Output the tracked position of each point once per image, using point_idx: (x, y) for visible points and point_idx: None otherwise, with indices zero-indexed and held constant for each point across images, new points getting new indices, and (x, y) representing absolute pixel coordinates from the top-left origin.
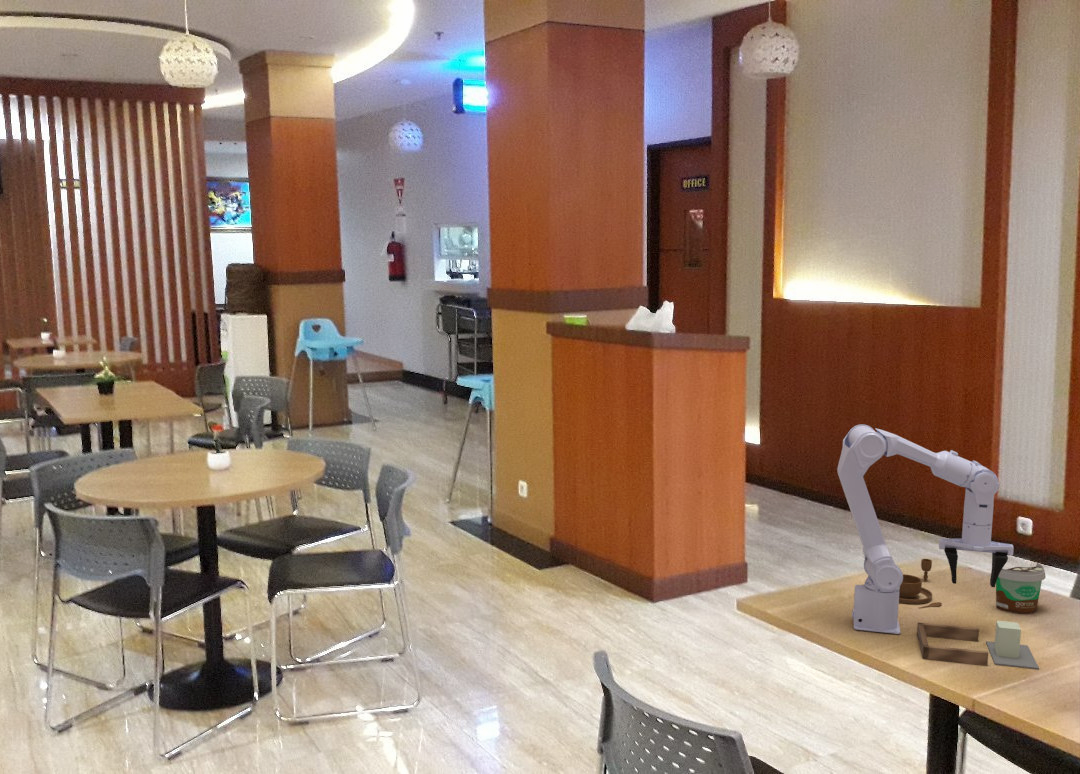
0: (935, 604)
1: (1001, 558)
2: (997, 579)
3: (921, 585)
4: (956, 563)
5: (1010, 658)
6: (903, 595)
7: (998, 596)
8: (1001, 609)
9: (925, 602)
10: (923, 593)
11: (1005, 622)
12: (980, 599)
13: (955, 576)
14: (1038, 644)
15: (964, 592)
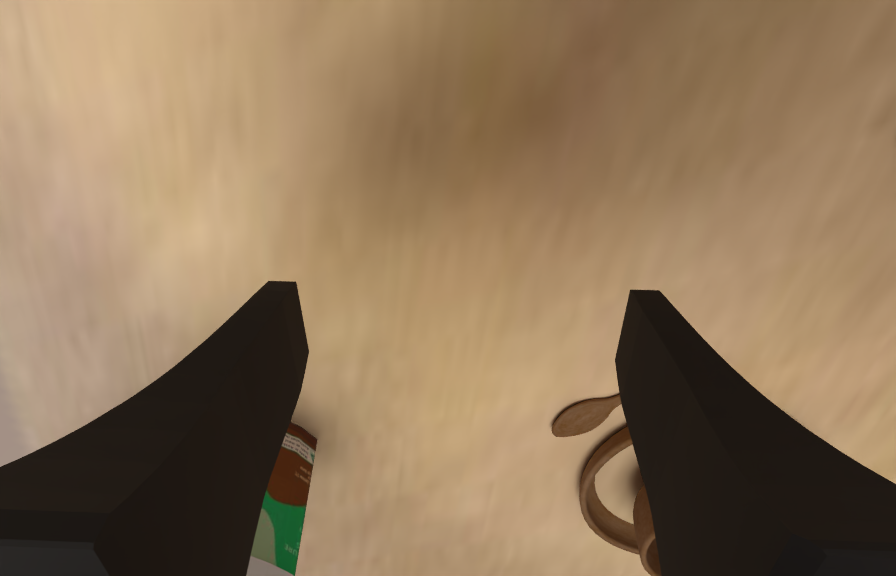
0: (580, 421)
1: (2, 530)
2: (287, 560)
3: (640, 522)
4: (730, 441)
5: None
6: None
7: (298, 480)
8: (295, 426)
9: (624, 429)
10: (602, 510)
11: None
12: (377, 501)
13: (665, 330)
14: (67, 3)
15: (432, 543)
